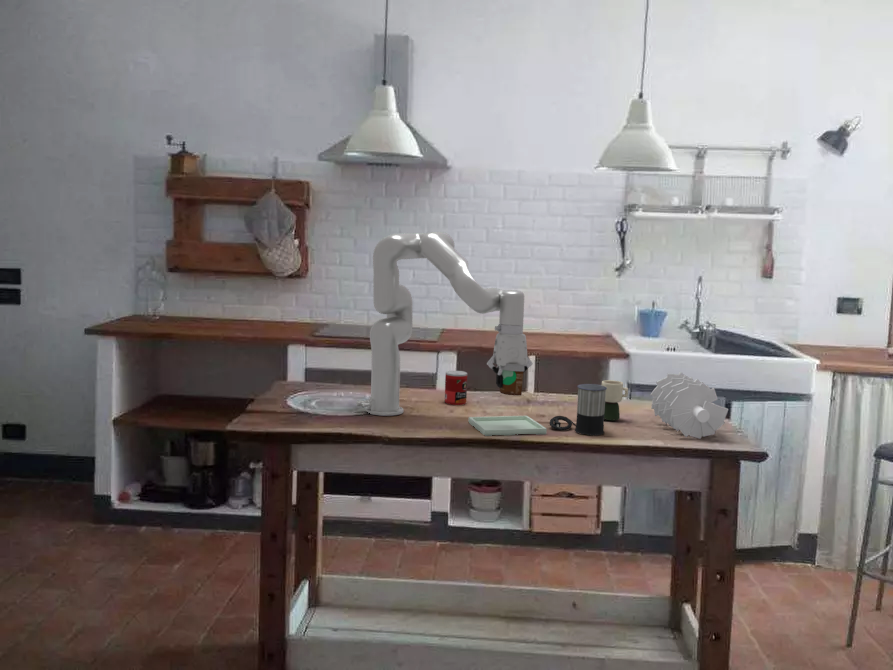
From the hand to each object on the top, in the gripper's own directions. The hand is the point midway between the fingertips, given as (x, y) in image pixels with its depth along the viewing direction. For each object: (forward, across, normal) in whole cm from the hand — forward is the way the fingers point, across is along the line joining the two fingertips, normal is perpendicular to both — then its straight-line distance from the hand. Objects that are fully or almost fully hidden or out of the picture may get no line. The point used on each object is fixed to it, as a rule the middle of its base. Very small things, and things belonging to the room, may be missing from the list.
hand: (508, 386), depth 297 cm
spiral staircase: (+14, +57, -11) cm, 60 cm away
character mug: (+14, +39, +7) cm, 42 cm away
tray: (+14, 0, 0) cm, 14 cm away
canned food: (+14, -6, +39) cm, 42 cm away
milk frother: (+14, +21, -6) cm, 26 cm away
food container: (+2, -1, 0) cm, 2 cm away
